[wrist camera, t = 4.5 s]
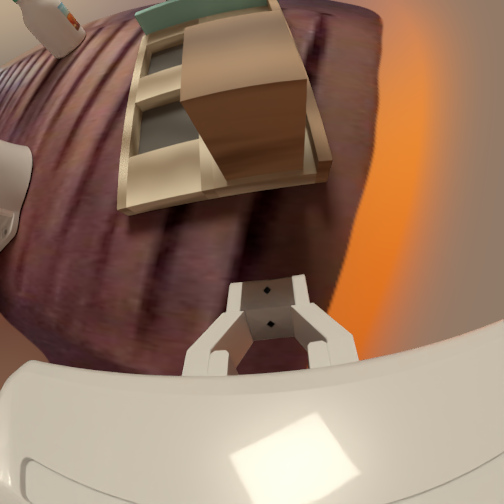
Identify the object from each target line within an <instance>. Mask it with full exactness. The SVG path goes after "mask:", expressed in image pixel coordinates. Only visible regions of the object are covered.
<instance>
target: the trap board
mask: <svg viewBox="0 0 504 504" xmlns="http://www.w3.org/2000/svg"><path fill="white" fill-rule="evenodd" d="M274 10H281V8H280V6H279V4H278V2H277V0H267V6H260V7H253V8H246V9H240V10H234V11H229V12H224V13H219V14H215V15H210V16H206V17H202V18H198V19H194V20H191V21H187V22H184V23H180V24H177V25H174V26H170V27H167V28H164V29H161V30H158V31H156V32H153V33H150V34H147V35H145V36H143V37H142V41H141V44H140V48H139V52H138V56H137V60H136V64H135V69H134V73H133V78H132V83H131V88H130V93H129V99H128V104H127V110H126V117H125V123H124V131H123V138H122V147H121V156H120V167H119V180H118V197H117V210H118V211H120V212H122V213H124V214H126V215H128V216H130V215H135V214H139V213H144V212H148V211H153V210H157V209H162V208H167V207H172V206H177V205H182V204H187V203H192V202H197V201H203V200H208V199H214V198H219V197H225V196H231V195H237V194H243V193H249V192H256V191H262V190H269V189H276V188H283V187H290V186H298V185H305V184H314V183H322V182H327V179H328V175H329V171H330V168H331V164H332V156H331V152H330V148H329V145H328V141H327V137H326V134H325V130H324V127H323V123H322V120H321V117H320V113H319V110H318V107H317V104H316V100H315V97H314V94H313V91H312V88H311V85H310V82H309V79H308V76H307V73H306V71H305V68H304V65H303V62H302V60H301V57H300V54H299V52H298V49H297V46H296V44H295V41H294V39H293V36H292V34H291V31H290V29H289V27H288V24H287V22H286V20H285V17H284V15H283V13H282V10H281V13H282V15H283V17H284V20H285V22H286V24H287V27H288V29H289V32H290V34H291V37H292V39H293V42H294V44H295V47H296V50H297V52H298V55H299V58H300V60H301V63H302V66H303V69H304V71H305V74H306V77H307V100H306V126H305V146H304V163H303V169H298V170H290V171H283V172H276V173H269V174H262V175H256V176H250V177H243V178H238V179H232V180H225V178H224V176H223V174H222V173H221V171H220V169H219V167H218V166H217V164H216V162H215V160H214V159H213V157H212V155H211V154H210V152H209V150H208V148H207V147H206V145H205V143H204V142H203V140H202V138H201V136H200V135H199V133H198V131H197V130H196V128H195V126H194V124H193V123H192V121H191V119H190V118H189V116H188V114H187V113H186V111H185V109H184V107H183V106H182V104H181V102H180V89H181V70H182V55H183V42H184V31H185V28H186V27H190V26H193V25H197V24H201V23H205V22H209V21H214V20H218V19H223V18H228V17H233V16H238V15H244V14H251V13H258V12H265V11H274Z"/></svg>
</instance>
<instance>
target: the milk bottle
mask: <svg viewBox="0 0 504 504" xmlns="http://www.w3.org/2000/svg"><path fill="white" fill-rule="evenodd" d="M13 1H14V2H16V4H19V6H20V7H21V10H22V14H23V20H24V23H25V25H26V27H27V28H28V29H29V30H30V32H31V33H32V34H33V35H34V36H35V37H36V38H37V39H38V40H39V41H40V42H41V43H42V45H43V46H44V47H45V48H46V49H47V50H48V51H49V52H50V53H51V54H52V55H53V56H54V57H55V58H58V59H60V58H63V57H64V56H66V55H68V54H69V53H70V52H72V51H73V50H74V49H75V48H76V47H77V46H78V45H79V44H80V43H81V42H82V41H83V39H84V38H85V36H86V33H85V31H84V30H83V28H82V27H81V26H80V24H79V23H78V22H77V21H76V19H75V18H74V17H73V16H72V14H71V13H70V12H69V11H68V9H67V8H66V7H65V6H64V5H63V4H62V2H61V1H60V0H13Z"/></svg>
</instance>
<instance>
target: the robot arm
mask: <svg viewBox="0 0 504 504" xmlns="http://www.w3.org/2000/svg"><path fill="white" fill-rule="evenodd" d="M31 170H32V154H31V151H30V149H29V148H28V147H27V146H21V145H16V144H12V143H8V142H5V141H2V140H0V251H1V250H2V249H3V248H4V247H5V246H6V245H7V244H8V243H9V242H10V241H11V240H12V238H13V237H14V236H15V234H16V232H17V228H18V221H19V214H20V209H21V206H22V203H23V200H24V198H25V195H26V192H27V188H28V185H29V181H30V176H31ZM294 336H295V338H296V339H297V340H298V342H299V343H300V344H301V345H302V346H303V348H304V349H305V350H306V351H307V352H308V369H304V370H295V371H286V372H275V373H263V374H249V375H238V373H237V370H236V367H237V366H238V364H239V363H240V361H241V360H242V358H243V357H244V355H245V354H246V352H247V351H248V349H249V348H250V346H251V344H252V343H253V341H255V340H264V339H272V338H283V337H294ZM0 504H504V319H502V320H500V321H497V322H495V323H492V324H490V325H487V326H484V327H482V328H479V329H476V330H473V331H471V332H468V333H465V334H462V335H459V336H456V337H453V338H450V339H446V340H443V341H440V342H436V343H433V344H430V345H426V346H422V347H418V348H414V349H411V350H407V351H403V352H399V353H395V354H390V355H386V356H381V357H376V358H372V359H366V360H361V361H359V359H358V355H357V351H356V347H355V343H354V339H353V336H352V334H350V333H349V332H348V331H347V330H346V329H344V328H343V327H342V326H341V325H339V324H338V323H337V322H336V321H335V320H334V319H332V318H331V317H330V316H329V315H328V314H326V313H325V312H324V311H323V310H322V309H320V308H319V307H318V306H317V305H316V304H314V303H310V301H309V295H308V289H307V284H306V279H305V275H304V274H303V275H296V276H292V277H284V278H276V279H268V280H259V281H248V282H240V283H231V284H230V286H229V293H228V301H227V309H226V313H222V314H221V315H220V316H219V317H218V318H217V320H216V321H215V322H214V323H213V324H212V325H211V326H210V327H209V328H208V329H207V330H206V331H205V332H204V333H203V334H202V335H201V337H200V338H199V339H198V340H197V341H196V342H195V343H194V344H193V345H192V346H191V347H190V348H189V349H188V350H187V353H186V358H185V363H184V368H183V373H182V376H161V375H141V374H127V373H116V372H106V371H97V370H89V369H81V368H74V367H68V366H62V365H56V364H50V363H45V362H41V361H36V360H30V361H28V362H27V363H25V364H24V365H22V366H21V367H20V368H19V369H18V370H16V371H15V372H14V373H13V374H12V375H11V376H10V377H9V378H8V379H7V380H6V382H5V384H4V385H3V387H2V389H1V391H0Z"/></svg>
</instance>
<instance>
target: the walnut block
mask: <svg viewBox="0 0 504 504" xmlns="http://www.w3.org/2000/svg"><path fill="white" fill-rule="evenodd" d="M306 100H307V77H306V74H305V71H304V69H303V66H302V63H301V60H300V58H299V55H298V52H297V50H296V47H295V44H294V42H293V39H292V37H291V34H290V32H289V29H288V27H287V24H286V22H285V20H284V17H283V15H282V13H281V10H274V11H265V12H258V13H251V14H244V15H238V16H233V17H228V18H223V19H218V20H214V21H209V22H205V23H201V24H197V25H193V26H190V27H186V28H185V31H184V42H183V55H182V70H181V89H180V102H181V104H182V106H183V107H184V109H185V111H186V113H187V114H188V116H189V118H190V119H191V121H192V123H193V124H194V126H195V128H196V130H197V131H198V133H199V135H200V136H201V138H202V140H203V142H204V143H205V145H206V147H207V148H208V150H209V152H210V154H211V155H212V157H213V159H214V160H215V162H216V164H217V166H218V167H219V169H220V171H221V173H222V174H223V176H224V178H225V180H232V179H238V178H243V177H250V176H256V175H262V174H269V173H276V172H283V171H290V170H298V169H303V163H304V146H305V126H306Z"/></svg>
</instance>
